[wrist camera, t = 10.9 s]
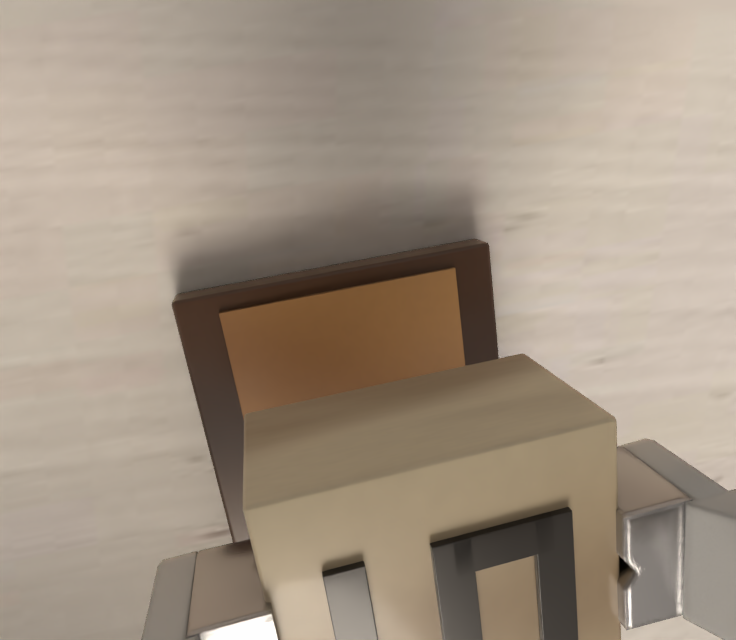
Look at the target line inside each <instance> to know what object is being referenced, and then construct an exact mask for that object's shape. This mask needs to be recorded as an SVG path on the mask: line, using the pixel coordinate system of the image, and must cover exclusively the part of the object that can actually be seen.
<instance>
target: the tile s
mask: <svg viewBox="0 0 736 640" xmlns="http://www.w3.org/2000/svg"><path fill="white" fill-rule="evenodd" d="M616 509H618V475H617V425H616V419H615V417H614V416H612V415H611V414H610V413H608V412H607V411H605V410H604V409H602V408H601V407H599V406H598V405H597V404H595V403H594V402H592V401H591V400H589V399H588V398H587V397H585V396H584V395H582V394H581V393H579V392H578V391H577V390H575V389H574V388H572V387H571V386H569V385H568V384H567V383H565V382H564V381H562V380H561V379H559V378H558V377H557V376H555V375H554V374H552V373H551V372H549V371H548V370H547V369H545V368H544V367H542V366H541V365H539V364H538V363H537V362H535V361H534V360H532V359H531V358H529V357H528V356H527V355H525V354H518V355H513V356H509V357H504V358H500V359H495V360H490V361H486V362H481V363H477V364H472V365H467V366H463V367H458V368H454V369H449V370H444V371H440V372H435V373H431V374H426V375H421V376H417V377H412V378H408V379H403V380H398V381H394V382H389V383H385V384H380V385H375V386H371V387H366V388H362V389H357V390H352V391H348V392H343V393H339V394H334V395H329V396H325V397H320V398H315V399H311V400H306V401H302V402H297V403H292V404H288V405H283V406H279V407H274V408H269V409H265V410H260V411H256V412H251V413H247V414H245V416H244V458H243V513H244V517H245V521H246V525H247V529H248V533H249V537H250V541H251V546H252V550H253V554H254V558H255V562H256V566H257V570H258V574H259V578H260V582H261V587H262V591H263V595H264V599H265V601H266V602H271V604H272V608H273V612H274V616H275V620H276V624H277V628H278V632H279V636H280V640H621V625H620V621H619V620H618V596H617V580H618V578H619V555H618V554H617V553H616Z"/></svg>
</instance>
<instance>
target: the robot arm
mask: <svg viewBox="0 0 736 640" xmlns="http://www.w3.org/2000/svg"><path fill="white" fill-rule="evenodd" d="M617 475H618V509H616V553H617V554H618V555H619V578H618V580H617V596H618V620H619V621H620V623H621V624H622V625H623V626H624V628H625V629H626V630H629V629H632V628H636V627H640V626H644V625H647V624H651V623H655V622H658V621H662V620H666V619H670V618H673V617H677V616H681V615H683V618H684V619H686V620H688V621H690V622H691V623H693V624H695V625H697V626H699V627H701V628H703V629H705V630H706V631H708V632H710V633H712V634H714V635H716V636H718V637H719V638H721V639H723V640H736V489H734V490H730V491H728V490H726V489H725V488H723V487H722V486H720V485H719V484H717V483H716V482H714V481H713V480H712V479H710V478H709V477H707V476H706V475H704V474H703V473H701V472H700V471H698V470H697V469H695V468H694V467H692V466H691V465H689V464H688V463H687V462H685V461H684V460H682V459H681V458H679V457H678V456H676V455H675V454H673V453H672V452H670V451H669V450H667V449H666V448H664V447H663V446H662V445H660V444H659V443H657V442H656V441H654V440H649V439H642V440H638V441H635V442H631V443H628V444H624V445H621V446H617ZM141 640H280V636H279V632H278V628H277V624H276V620H275V616H274V612H273V608H272V604H271V602H266V601H265V599H264V595H263V591H262V587H261V582H260V578H259V574H258V570H257V566H256V562H255V558H254V554H253V550H252V546H251V541H250V539H248V540H244V541H240V542H235V543H231V544H226V545H222V546H218V547H213V548H209V549H205V550H200V551H199V552H192V553H188V554H184V555H180V556H176V557H172V558H168V559H164V560H162V562H161V563H160V564H159V566H158V567H157V572H156V576H155V581H154V585H153V590H152V594H151V599H150V603H149V608H148V612H147V617H146V621H145V626H144V630H143V634H142V639H141Z"/></svg>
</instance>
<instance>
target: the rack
mask: <svg viewBox="0 0 736 640" xmlns="http://www.w3.org/2000/svg"><path fill="white" fill-rule="evenodd" d="M172 307H173V311H174V315H175V319H176V323H177V327H178V331H179V335H180V338H181V342H182V346H183V350H184V354H185V358H186V362H187V366H188V370H189V373H190V377H191V381H192V385H193V389H194V393H195V397H196V401H197V404H198V408H199V412H200V416H201V420H202V424H203V428H204V432H205V435H206V439H207V443H208V447H209V451H210V455H211V459H212V463H213V466H214V470H215V474H216V478H217V482H218V486H219V490H220V494H221V497H222V501H223V505H224V509H225V513H226V517H227V521H228V525H229V528H230V532H231V536H232V540H233V543H235V542H240V541H244V540H248V539H250V537H249V533H248V529H247V525H246V521H245V517H244V513H243V458H244V416H245V414H247V413H251V412H256V411H260V410H265V409H269V408H274V407H279V406H283V405H288V404H292V403H297V402H302V401H306V400H311V399H315V398H320V397H325V396H329V395H334V394H339V393H343V392H348V391H352V390H357V389H362V388H366V387H371V386H375V385H380V384H385V383H389V382H394V381H398V380H403V379H408V378H412V377H417V376H421V375H426V374H431V373H435V372H440V371H444V370H449V369H454V368H458V367H463V366H467V365H472V364H477V363H481V362H486V361H490V360H495V359H498V347H497V335H496V323H495V311H494V299H493V287H492V275H491V263H490V251H489V245H488V243H486V242H483V241H480V240H477V239H471V240H466V241H460V242H455V243H449V244H444V245H439V246H433V247H428V248H422V249H417V250H412V251H406V252H401V253H396V254H390V255H385V256H379V257H374V258H369V259H363V260H358V261H352V262H347V263H342V264H336V265H331V266H325V267H320V268H315V269H309V270H304V271H299V272H293V273H288V274H282V275H277V276H272V277H266V278H261V279H255V280H250V281H245V282H239V283H234V284H228V285H223V286H218V287H212V288H207V289H202V290H196V291H191V292H185V293H180V294H177V295H176V296H175V298H174V300H173V302H172Z"/></svg>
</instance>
